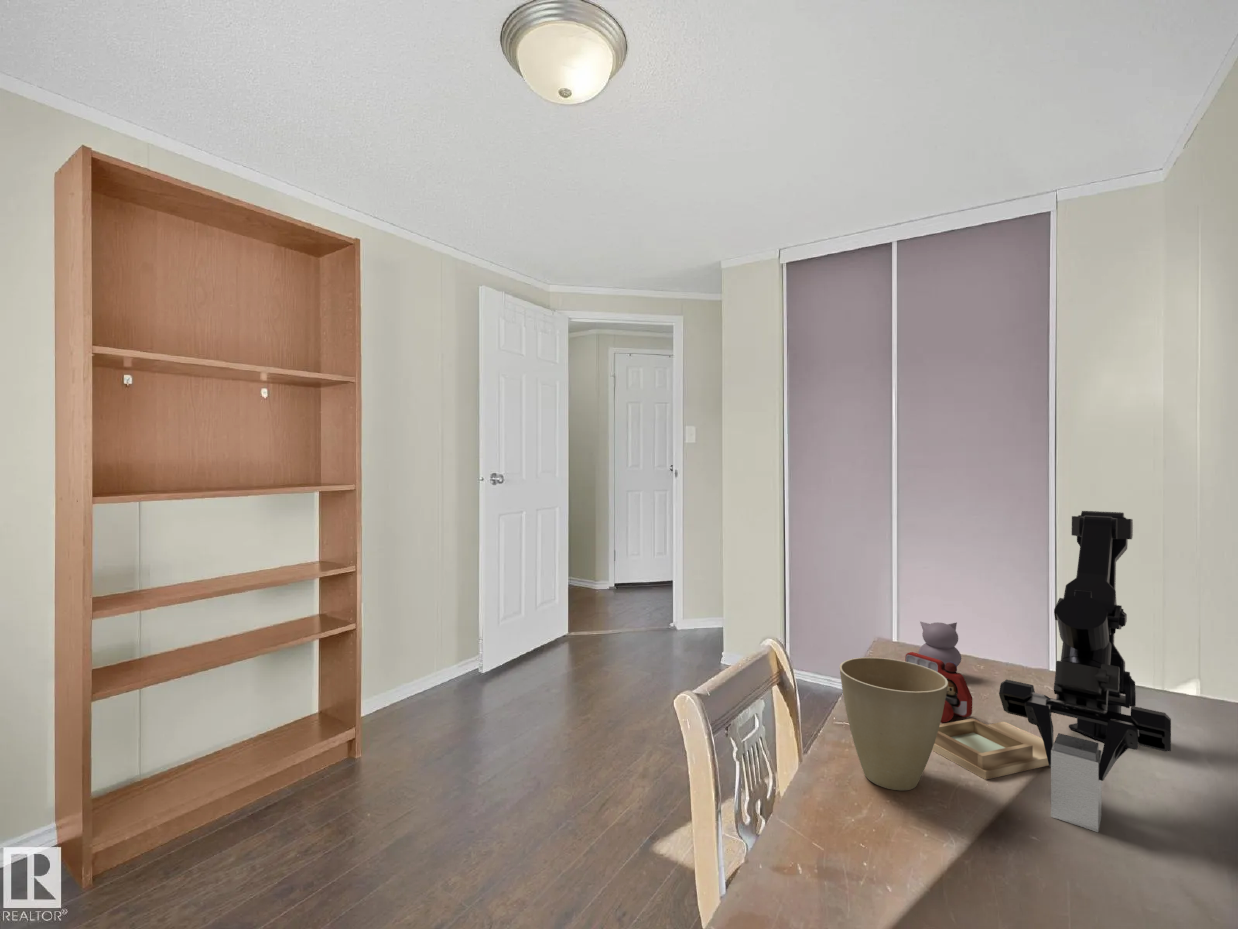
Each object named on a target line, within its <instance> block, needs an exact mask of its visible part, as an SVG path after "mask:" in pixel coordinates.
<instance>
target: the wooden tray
mask: <svg viewBox="0 0 1238 929" xmlns="http://www.w3.org/2000/svg"><path fill="white" fill-rule="evenodd" d="M932 751H933V752H935V753H936V754H938V755H939V756H941V757H944V758H946V759H947V760H949V761H951V762H953V763H955V764H956V765H958V766H960V767H962V768H963V769H964V770H968V772H971V773H972V774H974V775H976V776H978V777H980V778H982V779H984V780H986V781H987V780H990V779H994V778H999V777H1003V776H1009V775H1013V774H1016V773H1021V772H1025V771H1030V770H1035V769H1038V768H1042V767H1048V766H1049V763H1048V759H1047V755H1046V751H1045V746H1044V742H1043V739H1042V737H1040V736H1038V735H1036V734H1033V733H1031V732H1029V731H1027V730H1024V729H1022V728H1019V727H1017V726H1015V725H1013V724H1011V723H1008V722H1006V721H1000V722H995V723H990V724H986V723H984V722H982V721H980V720H977V719H975V718H973V717H972V718H966V719H963V720H956V721H950V722H944V723H940V726H939V730H938V733H937V736H936V740H935V743H934V746H933V749H932Z"/></svg>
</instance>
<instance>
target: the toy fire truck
mask: <svg viewBox="0 0 1238 929" xmlns="http://www.w3.org/2000/svg"><path fill="white" fill-rule="evenodd" d="M904 657H905V660H904V661H905V662H910V663H914V664H917V665H921V666H924V667H927V668H929V669H932V670H934V671H936V672H938V673H940V674H941V675H943V676H944V677H945V678H947V681H948V687H947V693H946V699H945V704H944V709H943V714H942V718H941V723H942V724H945V723H949V721H950V722H951V720H952V719H953V718H954V716H956V717H962V718H968V717H970V716H972V714H973V696H972V693H971V692H970V688H969V687H968V683H967V681H966V680H965V677H964V675H963V674H962V673H959V672H958V666H956V665H955V664H954V663H952V662H948V663H946V664H944V662H943V661H941V660H938V659H935V658H931V657H928V656H924V655H921V654H919V652H918V653H917V652H914V651H910V652H907V653H906V654H905V656H904Z"/></svg>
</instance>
